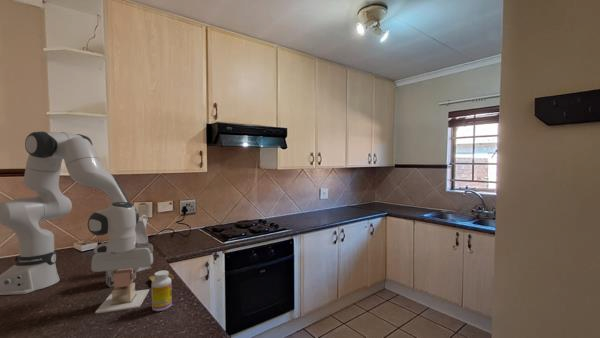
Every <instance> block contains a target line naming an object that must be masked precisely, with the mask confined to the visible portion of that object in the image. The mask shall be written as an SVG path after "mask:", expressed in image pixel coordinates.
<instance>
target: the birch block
mask: <svg viewBox="0 0 600 338" xmlns="http://www.w3.org/2000/svg"><path fill="white" fill-rule="evenodd" d="M135 291H136V282H132V283H131V284H130V285H129V286H125V287H116V288H114V287H113V290H111V294H112V305H113V304H120V303H127V302H131V301H132V299H133V297H134V296H135Z"/></svg>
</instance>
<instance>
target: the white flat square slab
mask: <svg viewBox="0 0 600 338" xmlns="http://www.w3.org/2000/svg"><path fill="white" fill-rule="evenodd" d="M149 291H150V289H149V288H148V289H147V288H146V289H141V290H140V289H139V290H135V296H134V297H133V299H132V301H131V302H127V303H120V304H113V305H112V293H110V294H109V295H108V297H106V299H105V300H104V301H103V302H102V303H101V304H100V306H99V307H98V308H97V309H96V310H95V312H94V314H97V315H98V314H103V313H104V314H105V313H110V312H116V311H117V312H118V311H123V310H124V311H125V310H132V309H138V308H140V307H141V305H142V303H143V302H144V301H145V300H146V299H145V298H146V297H147V295H148V294H149Z"/></svg>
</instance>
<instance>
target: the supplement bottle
mask: <svg viewBox="0 0 600 338" xmlns="http://www.w3.org/2000/svg"><path fill="white" fill-rule="evenodd" d="M169 273H170V272H169V270H165V269H164V270H163V269H162V270H159V271H155V272H154V275H153V276H154V277H155V280H154V281H153V282H152V281H151V309H152V311H155V312H161V311H165V310H168V309H170V308H171V306H172V304H173V303H172V302H173V300H172V298H173V293H172V292H173V289H172V287H173V286H172V281H171V279H170V278H169V277H168V275H169Z"/></svg>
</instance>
